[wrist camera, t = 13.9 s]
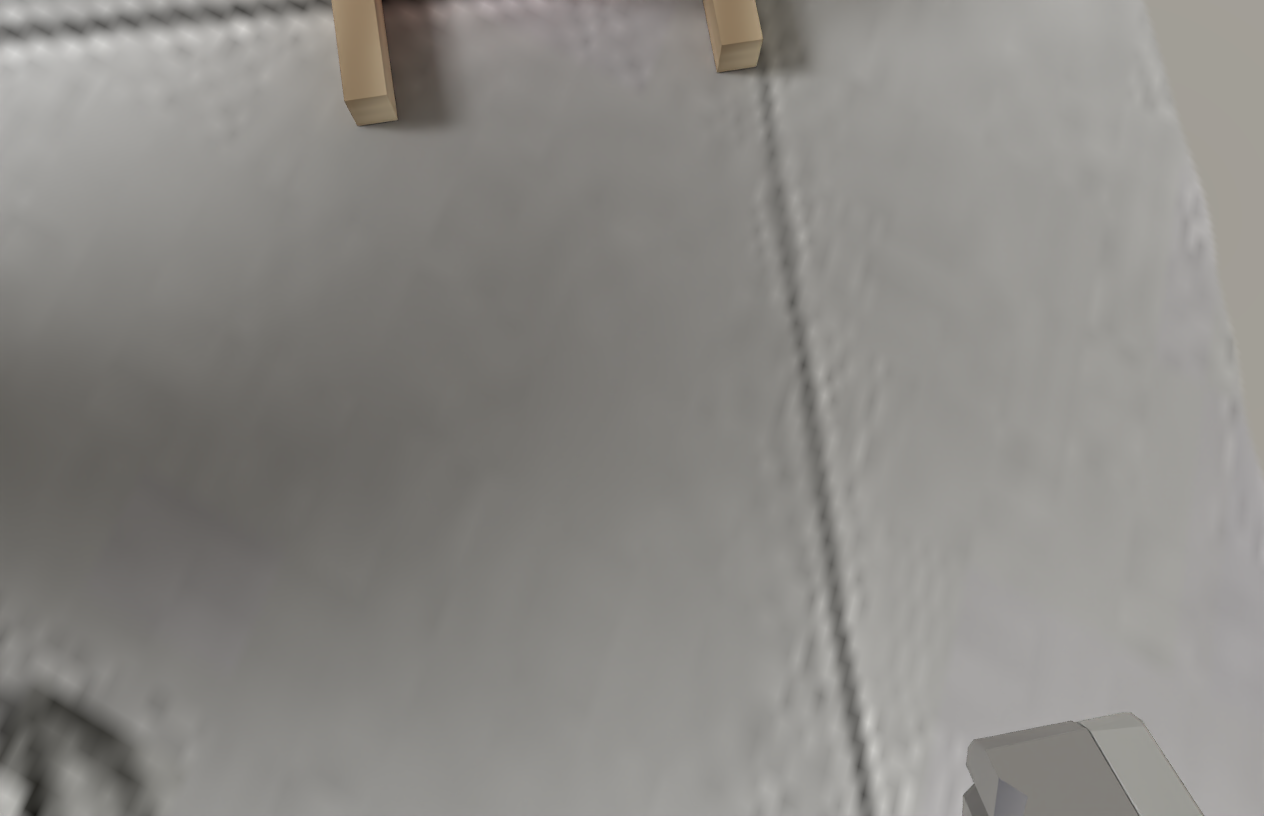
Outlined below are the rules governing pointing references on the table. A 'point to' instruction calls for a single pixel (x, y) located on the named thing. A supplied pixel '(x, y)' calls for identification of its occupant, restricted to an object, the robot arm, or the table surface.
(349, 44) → the bay
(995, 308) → the table surface
